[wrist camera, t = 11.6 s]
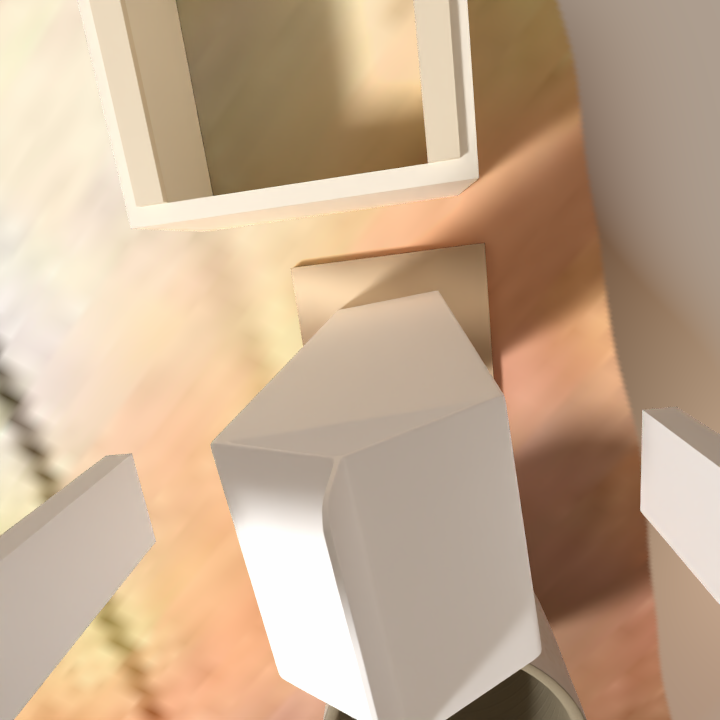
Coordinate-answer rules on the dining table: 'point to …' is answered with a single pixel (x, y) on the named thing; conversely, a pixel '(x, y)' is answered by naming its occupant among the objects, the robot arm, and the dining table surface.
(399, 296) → the mat
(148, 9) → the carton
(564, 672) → the planter
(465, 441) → the milk
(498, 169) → the dining table surface
